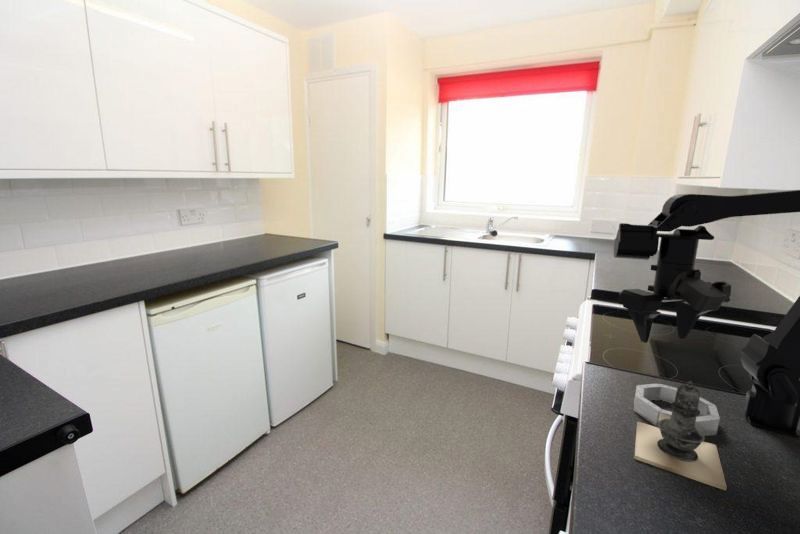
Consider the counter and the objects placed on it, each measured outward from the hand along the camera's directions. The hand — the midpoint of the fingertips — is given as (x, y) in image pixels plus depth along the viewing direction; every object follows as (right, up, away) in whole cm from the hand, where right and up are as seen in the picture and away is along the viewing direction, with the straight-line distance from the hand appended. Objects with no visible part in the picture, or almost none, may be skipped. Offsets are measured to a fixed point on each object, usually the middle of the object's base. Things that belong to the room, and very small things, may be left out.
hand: (663, 340), depth 74 cm
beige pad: (-7, -15, -13) cm, 22 cm away
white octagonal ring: (0, -14, -3) cm, 14 cm away
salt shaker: (-7, -15, -14) cm, 22 cm away
